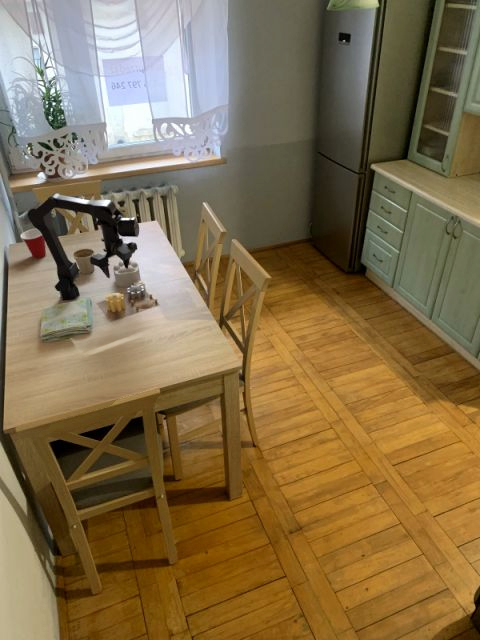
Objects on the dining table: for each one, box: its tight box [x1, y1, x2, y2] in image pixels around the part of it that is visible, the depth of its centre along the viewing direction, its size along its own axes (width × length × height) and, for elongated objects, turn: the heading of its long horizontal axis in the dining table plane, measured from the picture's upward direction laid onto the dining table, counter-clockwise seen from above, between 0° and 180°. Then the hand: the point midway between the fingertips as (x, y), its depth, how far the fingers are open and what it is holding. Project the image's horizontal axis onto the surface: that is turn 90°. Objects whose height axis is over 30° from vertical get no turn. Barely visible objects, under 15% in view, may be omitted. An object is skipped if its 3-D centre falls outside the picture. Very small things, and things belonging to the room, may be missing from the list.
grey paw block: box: [112, 259, 142, 288], centre depth 197 cm, size 10×13×9 cm
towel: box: [39, 297, 93, 343], centre depth 172 cm, size 18×21×5 cm
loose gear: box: [105, 292, 126, 312], centre depth 178 cm, size 7×7×6 cm
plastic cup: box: [20, 228, 47, 260], centre depth 218 cm, size 11×11×12 cm
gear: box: [126, 285, 146, 299], centre depth 186 cm, size 7×7×4 cm
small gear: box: [134, 280, 146, 289], centre depth 192 cm, size 4×4×3 cm
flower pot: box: [71, 247, 96, 274], centre depth 206 cm, size 9×9×9 cm
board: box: [95, 289, 160, 323], centre depth 182 cm, size 20×16×3 cm
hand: (117, 273), depth 179 cm, fingers open, 9 cm apart
